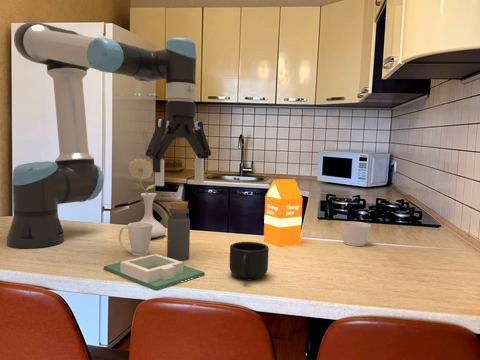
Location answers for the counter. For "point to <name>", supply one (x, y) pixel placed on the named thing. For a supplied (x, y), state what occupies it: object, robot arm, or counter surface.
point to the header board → (154, 271)
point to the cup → (138, 237)
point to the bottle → (178, 231)
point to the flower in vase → (142, 171)
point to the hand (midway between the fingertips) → (180, 184)
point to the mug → (249, 259)
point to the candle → (355, 233)
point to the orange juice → (283, 213)
